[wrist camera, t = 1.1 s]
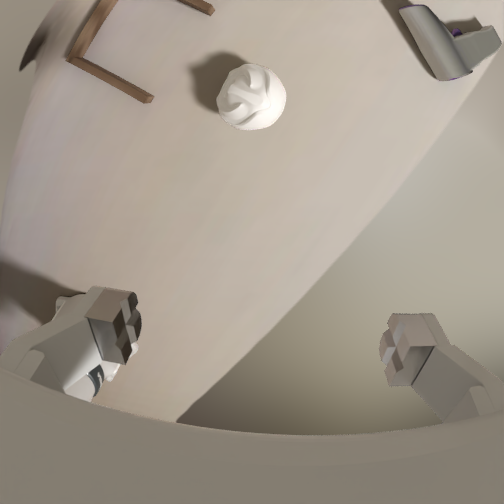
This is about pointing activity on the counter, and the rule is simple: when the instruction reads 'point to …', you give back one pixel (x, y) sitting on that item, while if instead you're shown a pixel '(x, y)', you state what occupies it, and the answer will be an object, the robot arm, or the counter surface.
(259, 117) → the white sculpted ball
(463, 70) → the infrared thermometer
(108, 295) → the robot arm
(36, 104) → the counter surface
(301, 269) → the counter surface
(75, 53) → the bay
